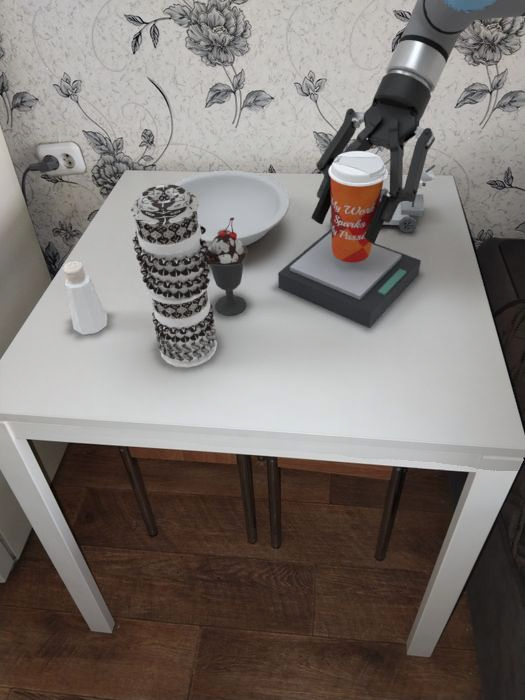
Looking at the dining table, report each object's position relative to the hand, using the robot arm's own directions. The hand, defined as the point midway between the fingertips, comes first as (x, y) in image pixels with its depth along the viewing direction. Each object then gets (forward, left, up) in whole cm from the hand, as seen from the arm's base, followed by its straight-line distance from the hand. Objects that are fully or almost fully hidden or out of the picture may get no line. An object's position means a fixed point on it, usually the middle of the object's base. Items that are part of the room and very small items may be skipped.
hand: (342, 230), depth 87 cm
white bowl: (+26, -2, -12) cm, 29 cm away
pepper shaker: (+27, +29, -12) cm, 41 cm away
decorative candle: (+11, +24, -12) cm, 29 cm away
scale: (0, -3, -11) cm, 12 cm away
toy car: (+6, -24, -12) cm, 28 cm away
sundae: (+12, +13, -12) cm, 21 cm away
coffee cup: (0, -3, -6) cm, 7 cm away
